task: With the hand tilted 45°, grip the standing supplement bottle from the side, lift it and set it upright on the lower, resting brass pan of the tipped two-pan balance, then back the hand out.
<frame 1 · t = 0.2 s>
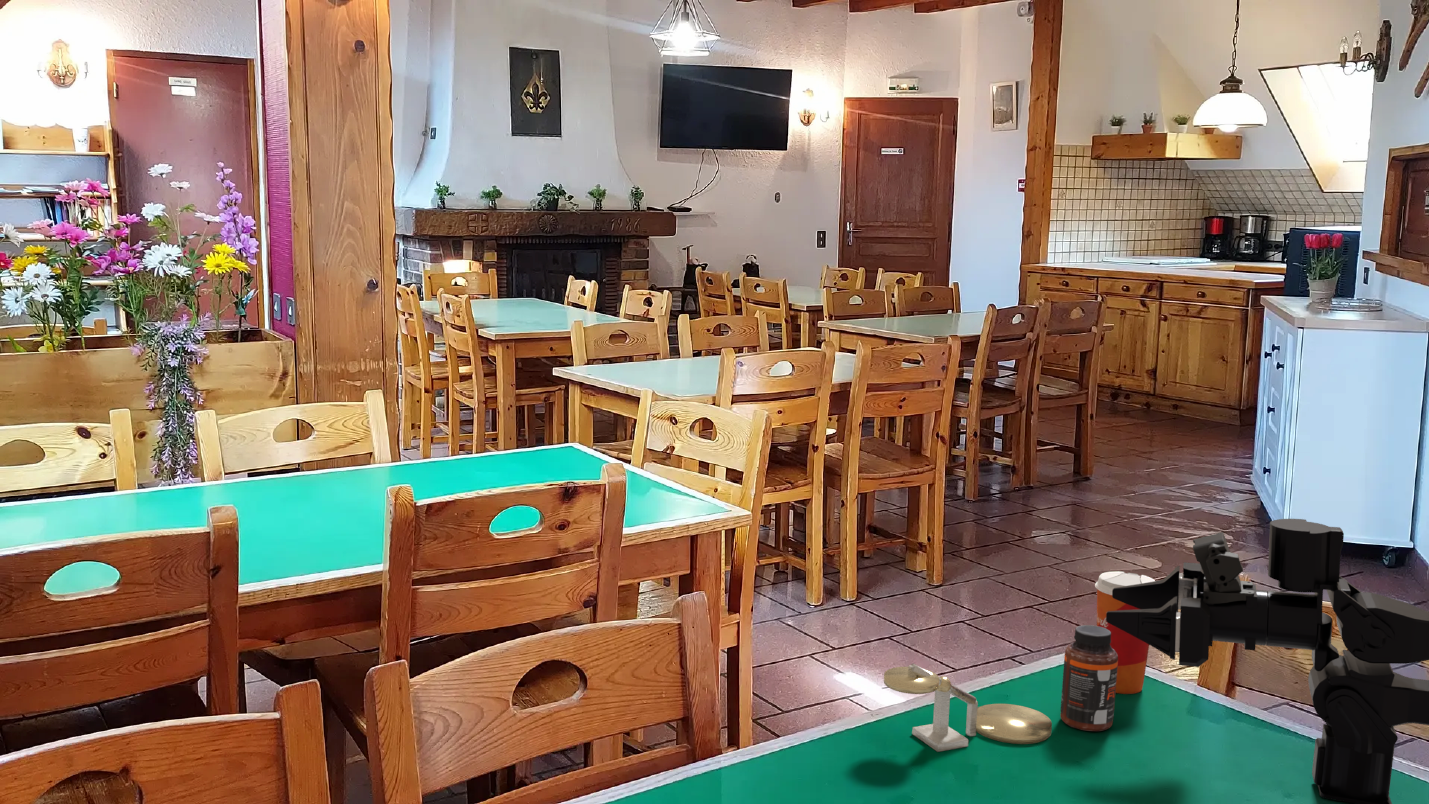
hand: (1109, 604, 133), 17 cm above the table, tool horizontal, fingers open, 9 cm apart
balance: (1010, 727, 141), on the table
supplement bottle: (1086, 724, 143), on the table
paper cup: (1118, 687, 154), on the table
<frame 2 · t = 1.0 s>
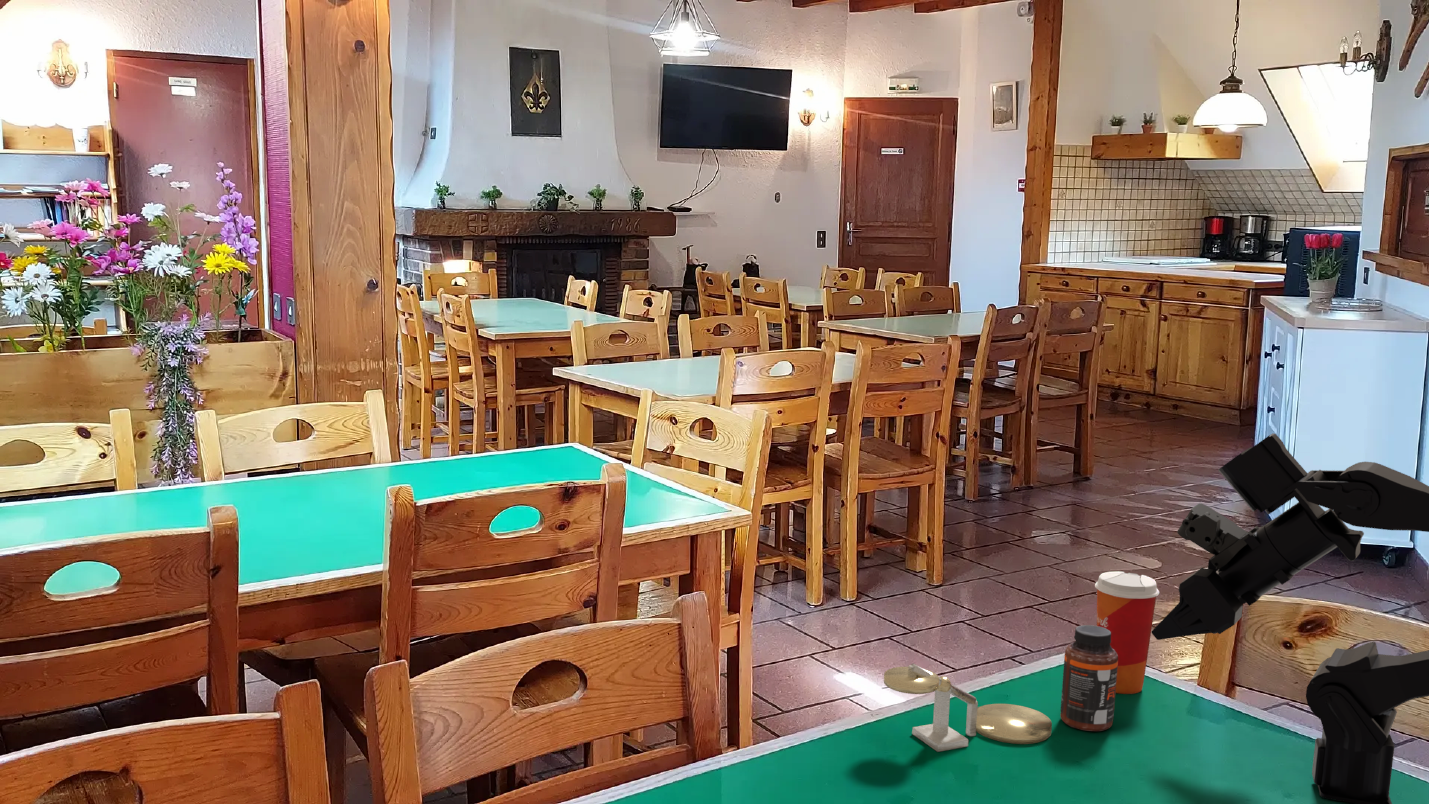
hand: (1166, 624, 136), 14 cm above the table, tool tilted 45°, fingers open, 9 cm apart
nothing on the table moved.
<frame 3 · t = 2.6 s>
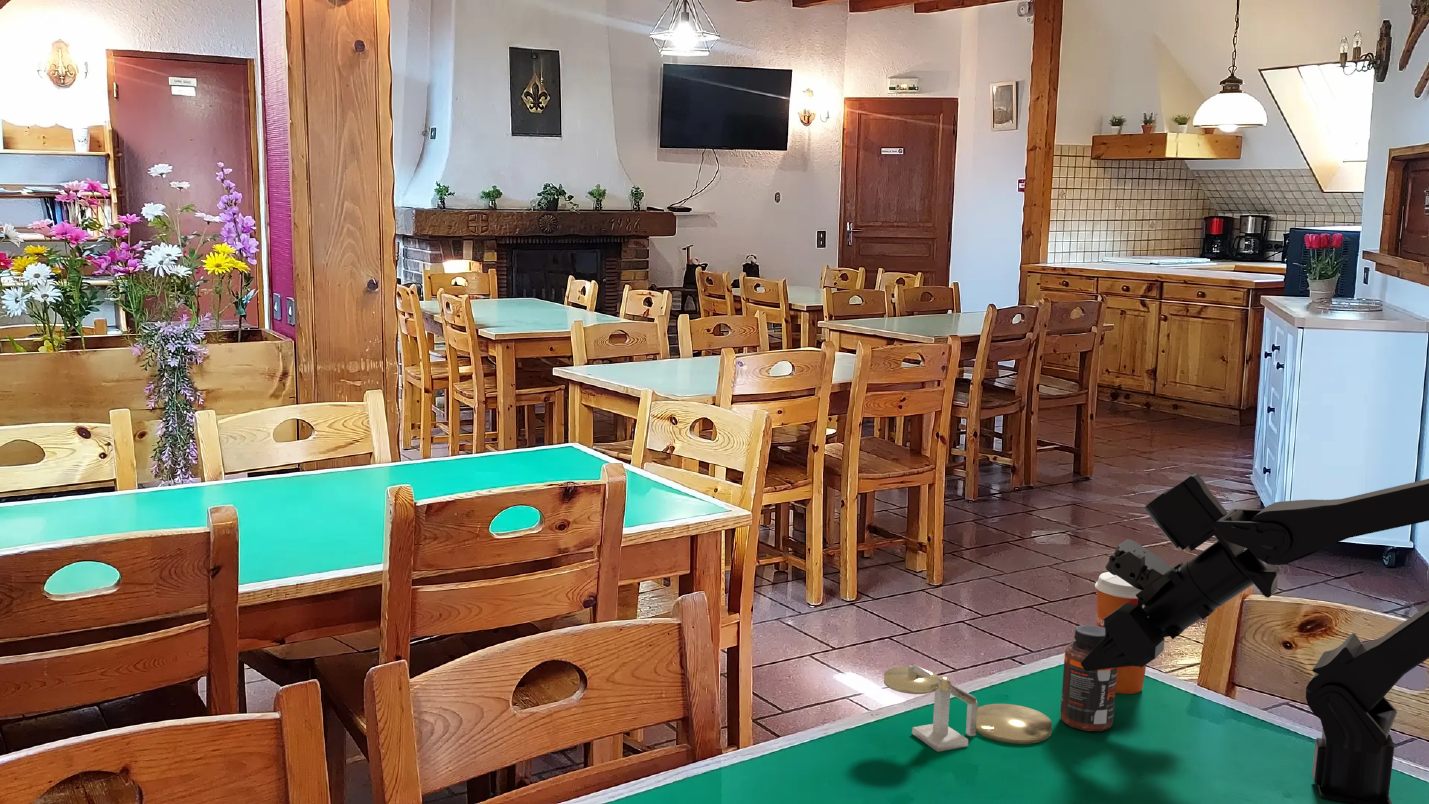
hand: (1096, 656, 141), 8 cm above the table, tool tilted 45°, fingers open, 9 cm apart
nothing on the table moved.
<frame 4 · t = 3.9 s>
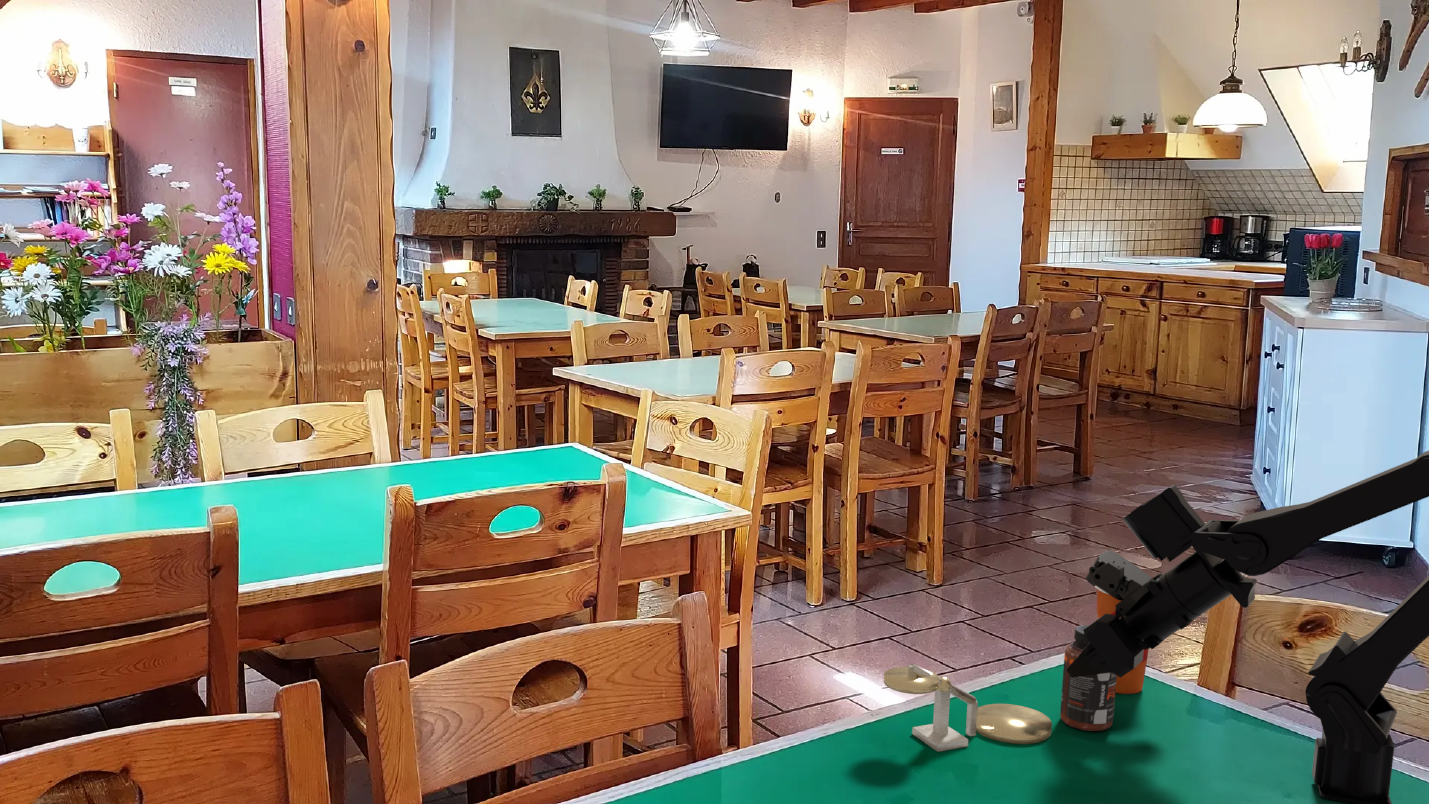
hand: (1078, 665, 142), 7 cm above the table, tool tilted 45°, fingers closed on supplement bottle, 6 cm apart
supplement bottle: (1086, 724, 143), on the table, touching gripper
everything else where it was.
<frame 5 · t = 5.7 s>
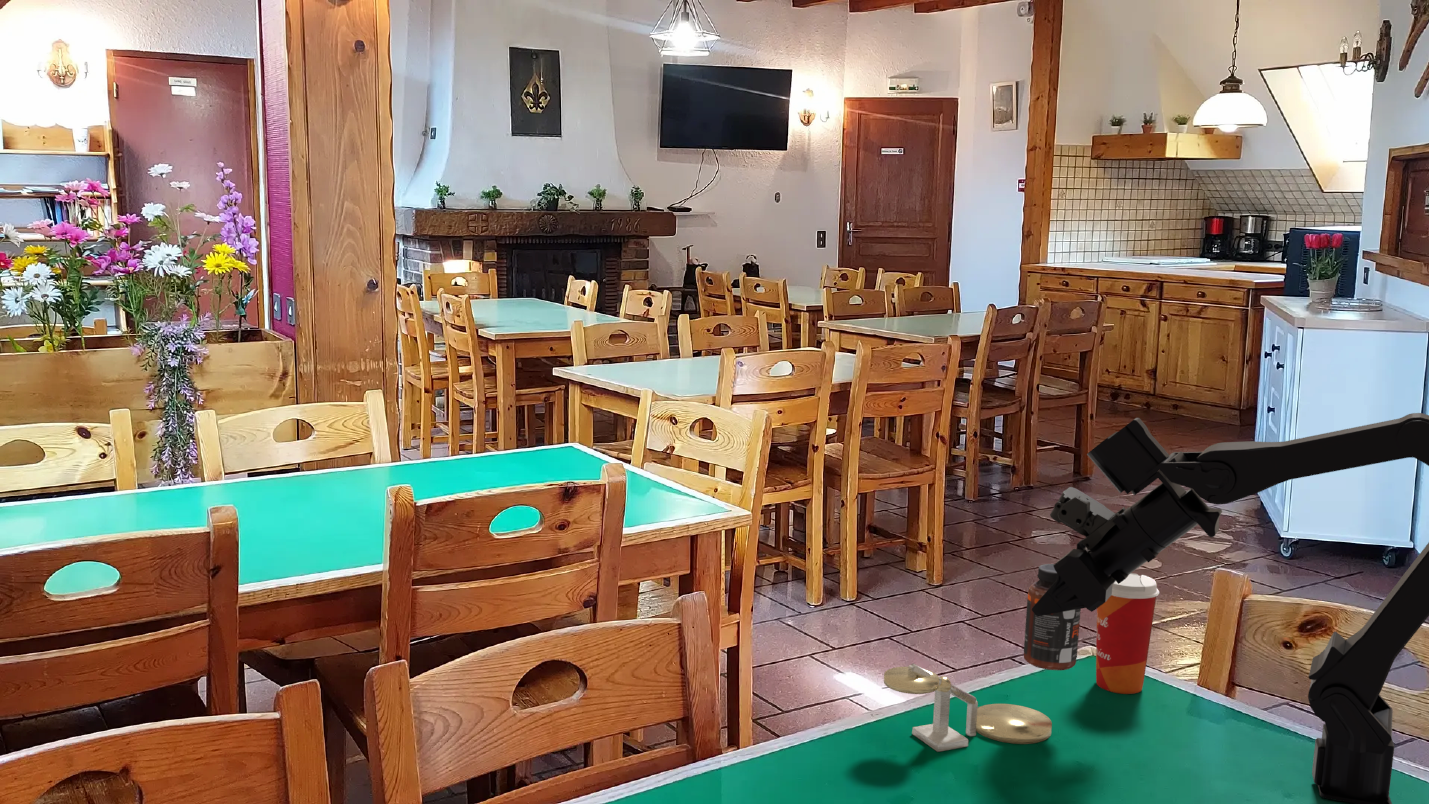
hand: (1041, 605, 141), 14 cm above the table, tool tilted 45°, fingers closed on supplement bottle, 6 cm apart
supplement bottle: (1049, 664, 141), point 7 cm above the table, touching gripper
everything else where it was.
when the fingers open (9 cm above the table, at t = 7.6 s): supplement bottle drops 1 cm, resting on balance.
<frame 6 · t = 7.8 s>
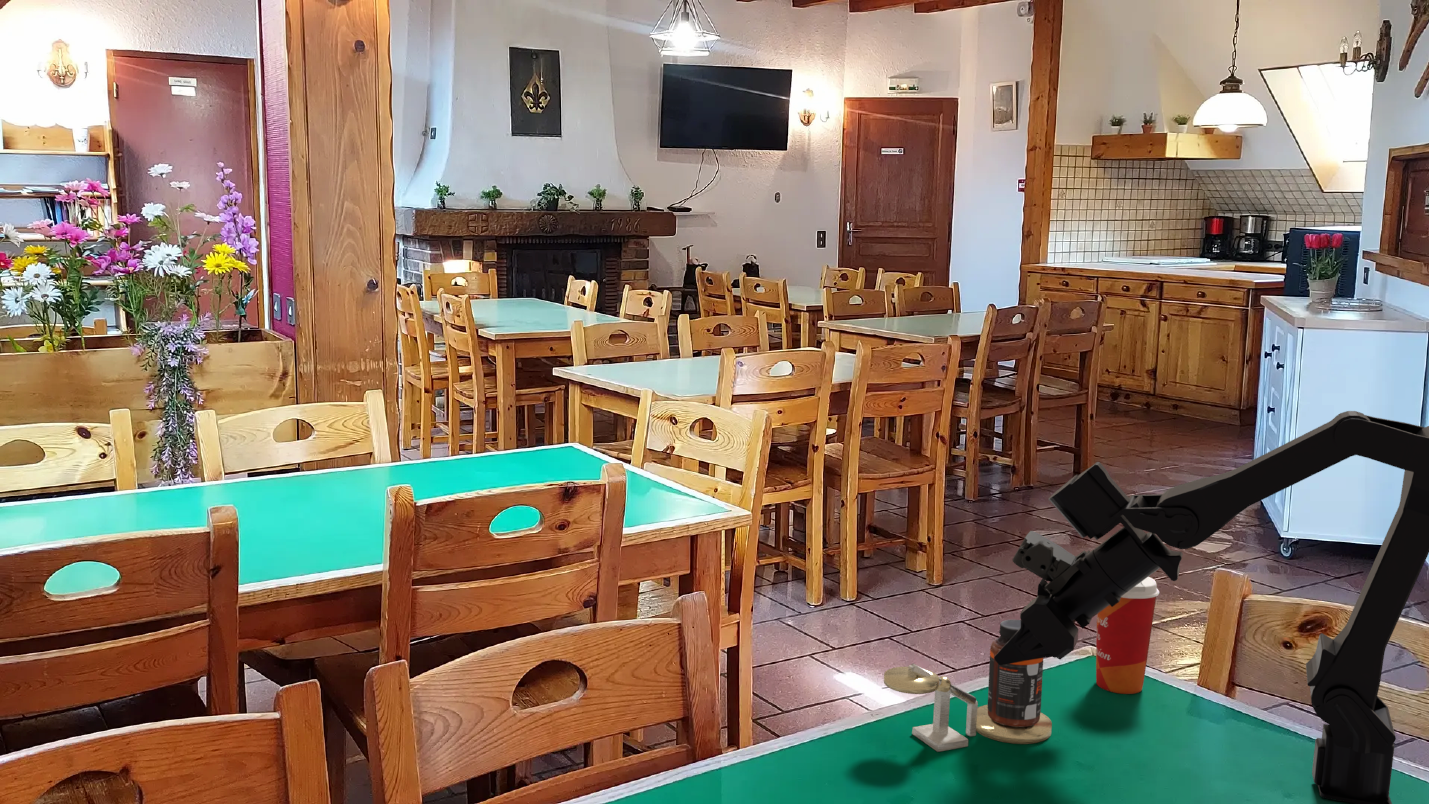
hand: (1003, 650, 140), 9 cm above the table, tool tilted 45°, fingers open, 8 cm apart
supplement bottle: (1013, 720, 140), point 1 cm above the table, touching balance
everything else where it was.
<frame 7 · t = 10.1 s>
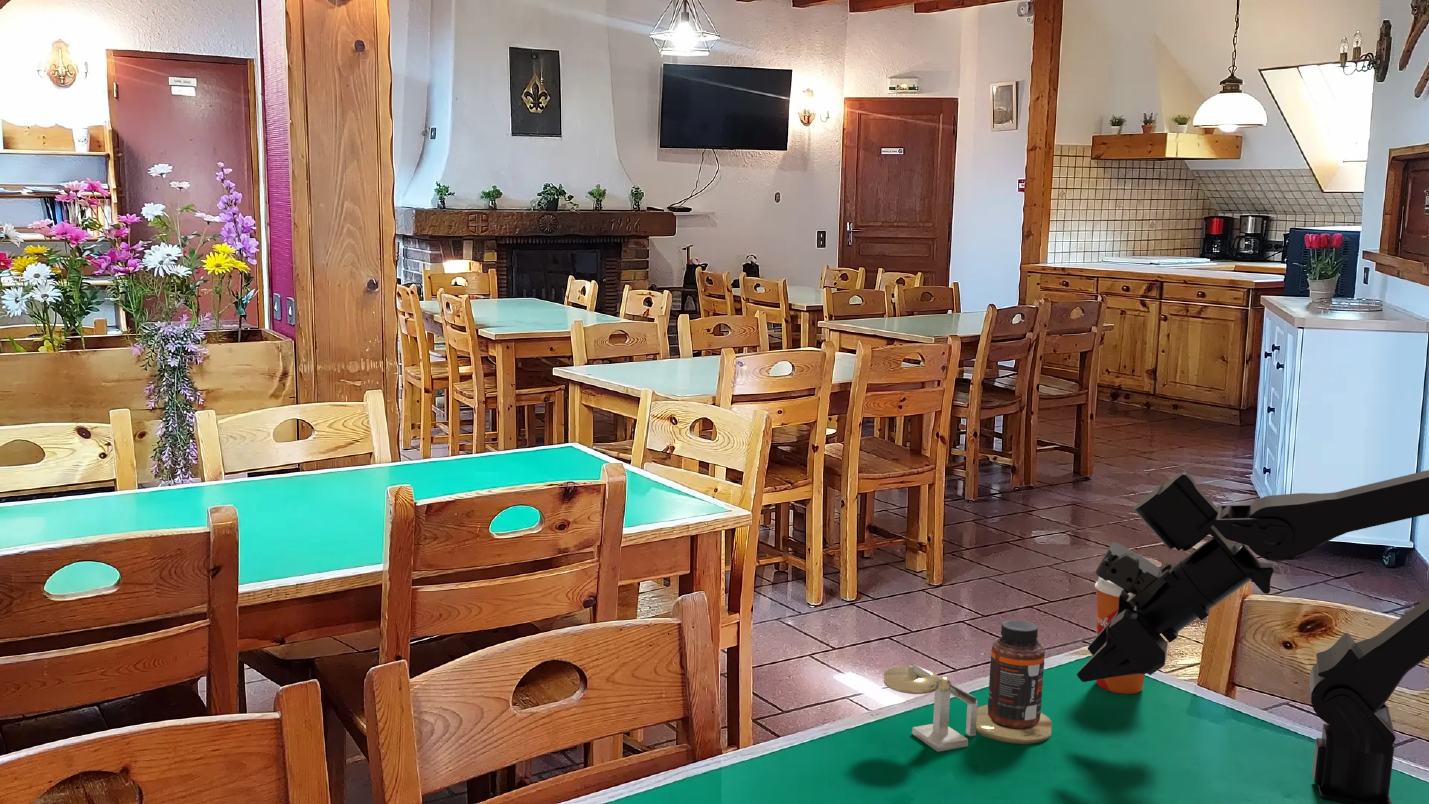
hand: (1085, 664, 136), 9 cm above the table, tool tilted 45°, fingers open, 9 cm apart
nothing on the table moved.
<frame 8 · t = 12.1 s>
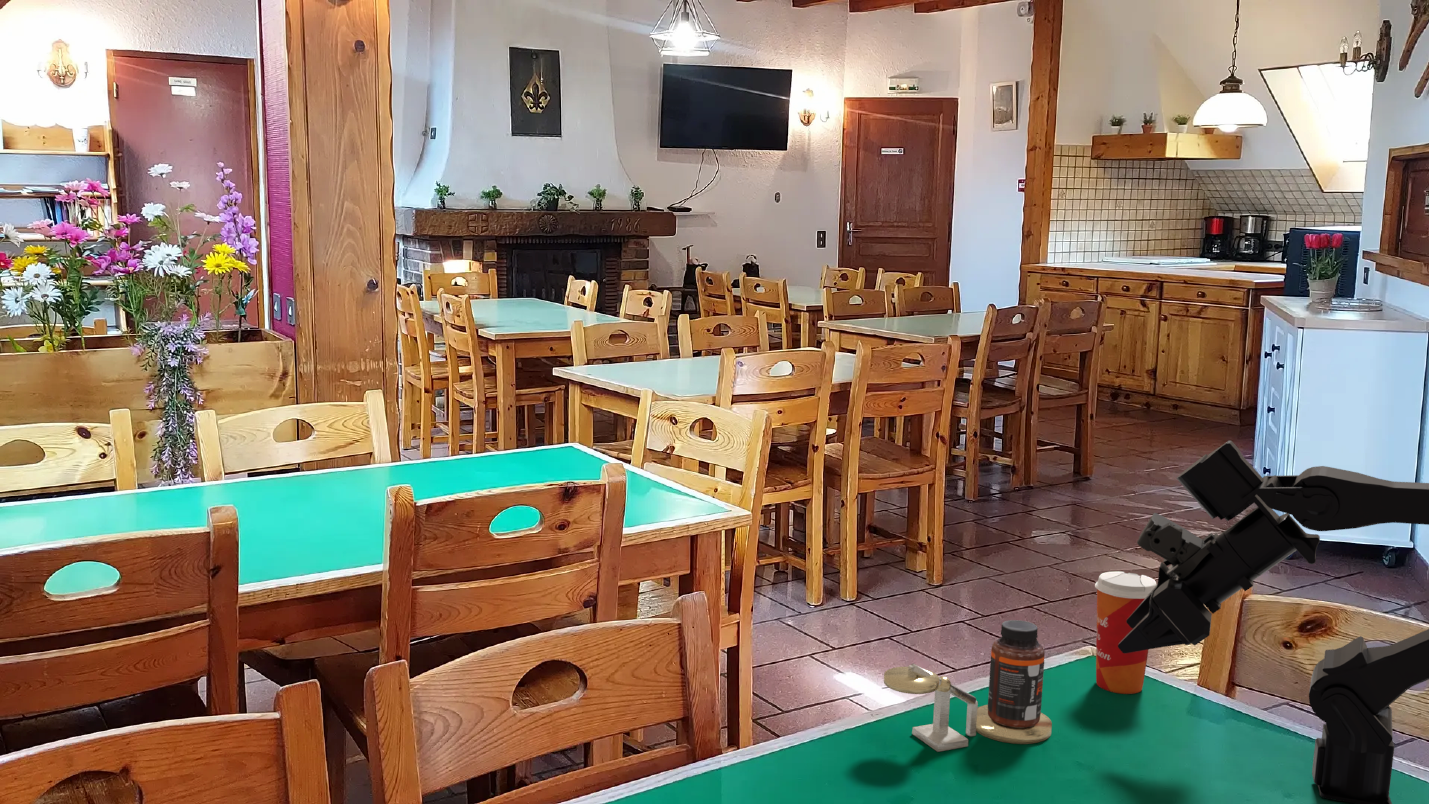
hand: (1124, 636, 135), 13 cm above the table, tool tilted 45°, fingers open, 9 cm apart
nothing on the table moved.
at the end: supplement bottle 0.2 cm off-centre on the balance, point 0.8 cm above the balance's base; supplement bottle tilted 0°; the gripper is holding nothing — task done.
